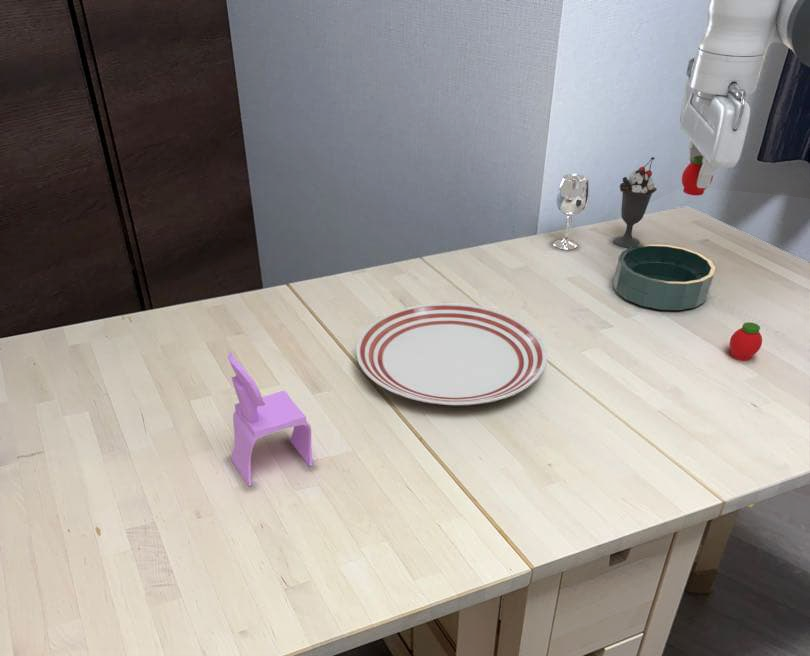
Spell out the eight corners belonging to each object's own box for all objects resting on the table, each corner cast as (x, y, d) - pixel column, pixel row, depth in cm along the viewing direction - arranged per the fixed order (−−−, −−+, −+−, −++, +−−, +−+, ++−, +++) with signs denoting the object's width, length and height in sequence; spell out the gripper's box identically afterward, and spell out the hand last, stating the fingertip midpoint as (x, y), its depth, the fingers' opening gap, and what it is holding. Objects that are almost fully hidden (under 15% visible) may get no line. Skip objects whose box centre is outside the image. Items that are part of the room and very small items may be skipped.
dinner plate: (557, 420, 99) (561, 399, 97) (352, 419, 99) (351, 398, 97) (531, 322, 119) (533, 303, 117) (360, 321, 119) (359, 301, 116)
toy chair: (319, 469, 91) (310, 360, 81) (252, 491, 88) (233, 381, 78) (292, 434, 96) (280, 328, 86) (227, 454, 93) (207, 346, 83)
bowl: (694, 273, 133) (702, 245, 130) (716, 314, 122) (726, 285, 118) (606, 270, 133) (612, 243, 130) (621, 311, 122) (627, 282, 119)
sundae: (648, 240, 144) (668, 156, 133) (637, 252, 140) (657, 166, 129) (615, 233, 146) (632, 150, 136) (604, 244, 142) (620, 160, 132)
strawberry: (704, 187, 115) (713, 154, 112) (711, 197, 112) (721, 163, 109) (675, 186, 115) (683, 153, 112) (682, 196, 112) (690, 162, 109)
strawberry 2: (751, 348, 114) (762, 319, 111) (760, 363, 111) (771, 333, 107) (722, 347, 114) (732, 318, 111) (730, 362, 111) (740, 332, 107)
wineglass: (566, 253, 139) (577, 185, 130) (543, 243, 142) (552, 177, 134) (586, 245, 141) (598, 179, 133) (563, 236, 145) (574, 170, 136)
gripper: (772, 94, 95) (737, 205, 105) (728, 59, 110) (701, 159, 120) (722, 93, 95) (692, 204, 105) (685, 58, 110) (661, 158, 120)
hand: (696, 180), depth 112 cm, fingers closed on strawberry, 4 cm apart
